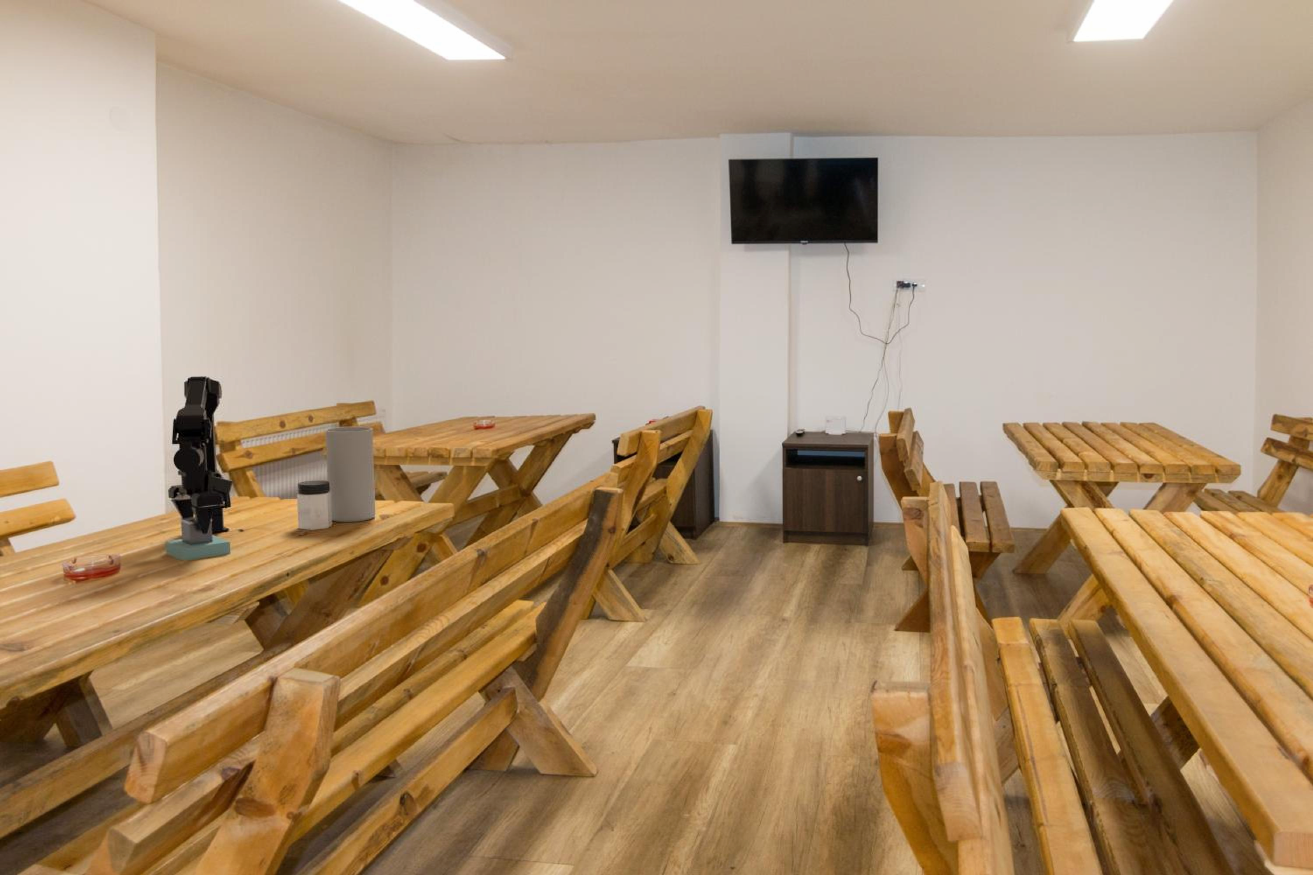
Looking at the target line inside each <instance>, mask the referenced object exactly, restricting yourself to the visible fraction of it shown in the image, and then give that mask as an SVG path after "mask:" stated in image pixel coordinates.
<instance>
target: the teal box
mask: <svg viewBox="0 0 1313 875" xmlns="http://www.w3.org/2000/svg"><path fill="white" fill-rule="evenodd" d="M212 539H213V542H208V543H201V544H194V545H189V544H187V543H184V542H182V538H179V539H173V540H167V541H165V553H166V554H167V555H169V556H170V557H171V556H172V557H174V558H176V559H178V560H181V561H183V562H184V561H192V560H197V559H205V558H210V557H211V558H212V557H218V556H225V555H230V554H231V541H229V540H227V539H225V538H222V537H218V536H216V535H214V534H212Z"/></svg>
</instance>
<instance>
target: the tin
mask: <svg viewBox="0 0 1313 875" xmlns="http://www.w3.org/2000/svg"><path fill="white" fill-rule="evenodd" d="M180 526H181V539H182V542H184V543H187V544H189V545H194V544H201V543H208V542H213V539H212V535H213V533H212V519H211V521H210V525H209V529H208V533H206V534H202V532H201V529H200V527H199V525H198V522H197V520H196V517H195V516H194V517H189V518H182V517H181V518H180Z"/></svg>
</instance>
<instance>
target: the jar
mask: <svg viewBox="0 0 1313 875" xmlns="http://www.w3.org/2000/svg"><path fill="white" fill-rule="evenodd" d="M296 499H297V501H296V502H297V504H296V505H297V521H298V522H297V524H298V529H299V530H306V531H307V530H308V531H315V530H325V529H329V528H330V527H331V526H332V525H333V521H332V508H331V491H330V484H329V482H328V481H327V480H306V481H301V482H298V483H297V495H296Z"/></svg>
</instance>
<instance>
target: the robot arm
mask: <svg viewBox="0 0 1313 875" xmlns="http://www.w3.org/2000/svg"><path fill="white" fill-rule="evenodd" d="M183 390H184V391H183V392H184V395H183V396H184V398H185V403H184V407H182V408H180V409H179V410H177V414H176V417H175V418H173V421H172V434H171V435H172V437H171V443H172V444H171V445H178V447H179V448H178V450H176V452H175V453H174V455H173V465H174V466H175V468H176V469H177V476H180V478H181V480H180V481H181V484H178V485H177V484H176V485H171V486H170V488H168V491H167V492H168V493H167V494H168V498H169V499H170V502H172V503H173V505H174V507H175V509H176V511H177V512H178V514H179V515H180V518H181V519H182V518H189V517H196V520H197V522H198V525H199V527H200V529H201V532H202V534H206V533H208V529H209V525H210V521H211V519H212V534H214V533H220V532H229V531H230V528H228V527H225V524H224V522H225V521H224V520H225V518H224V509H228V508H232V503H231V502H232V501H231V500H232V499H231V493H230V492H231V490H232V485H233V483H234V481H233V480H230V479H225V478H224V477H223V475H222V474H221V472H220V471H219V470H218V468H217V467H218V466H217V465H218V464H217V448H216V447H217V446H216V431H215V412H216V411H217V409H218V407H219V405H221V404H220V402H221V400H220V399H222V397H223V390H222V385H221V383H220V381H218V380H215V379H211V378H210V377H207V376H205V375H204V376H202V375H201V376H190V377H187V380H186V381H184V382H183Z"/></svg>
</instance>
